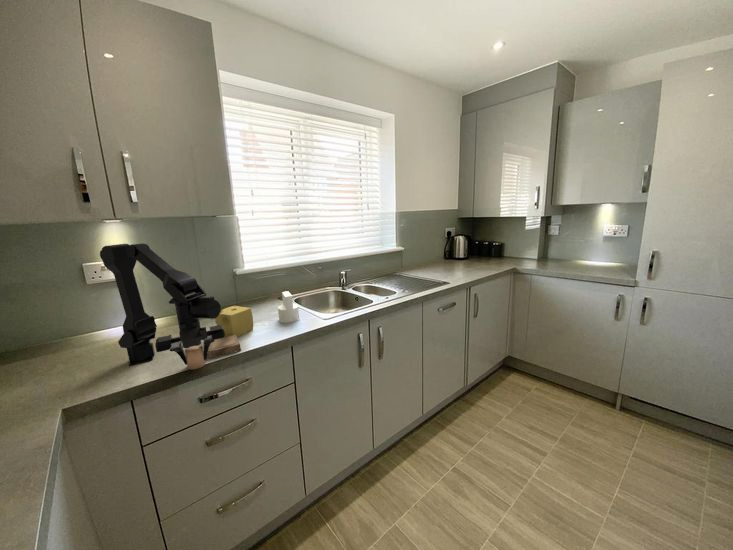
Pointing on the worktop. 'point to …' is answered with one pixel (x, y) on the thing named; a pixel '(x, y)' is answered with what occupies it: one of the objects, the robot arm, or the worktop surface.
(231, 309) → the cheese
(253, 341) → the worktop surface
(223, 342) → the walnut base
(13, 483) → the worktop surface
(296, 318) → the base with upright slab
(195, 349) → the terracotta cylinder
